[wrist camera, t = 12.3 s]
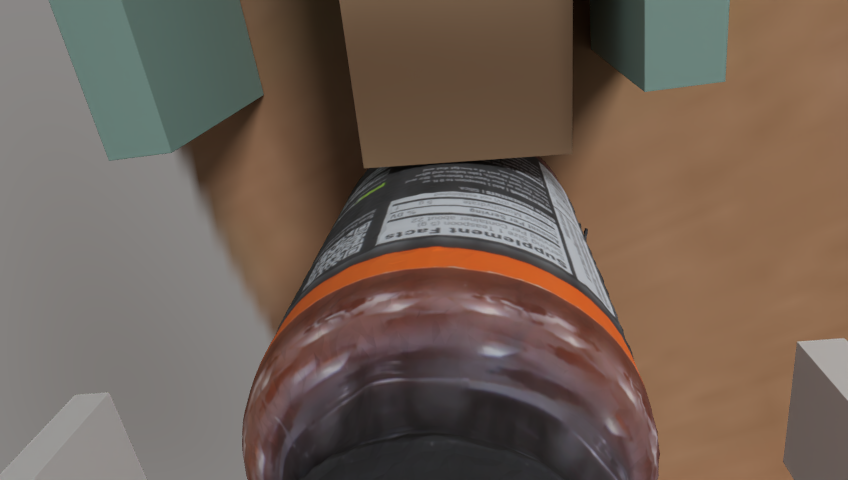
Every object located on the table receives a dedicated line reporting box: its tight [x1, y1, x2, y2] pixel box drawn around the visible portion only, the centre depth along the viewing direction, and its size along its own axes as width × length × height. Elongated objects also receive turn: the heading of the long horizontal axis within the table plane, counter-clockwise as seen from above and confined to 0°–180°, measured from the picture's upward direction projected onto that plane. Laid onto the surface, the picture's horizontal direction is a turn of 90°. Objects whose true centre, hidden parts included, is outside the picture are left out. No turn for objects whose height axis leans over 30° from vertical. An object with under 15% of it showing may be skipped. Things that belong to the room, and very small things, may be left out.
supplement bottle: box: [242, 156, 660, 480], centre depth 11 cm, size 6×6×11 cm
